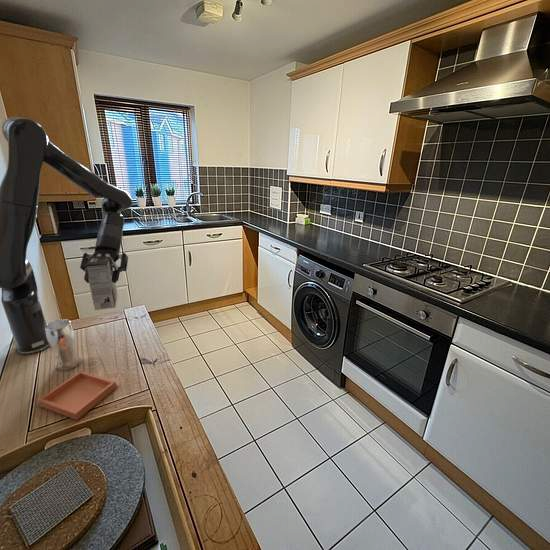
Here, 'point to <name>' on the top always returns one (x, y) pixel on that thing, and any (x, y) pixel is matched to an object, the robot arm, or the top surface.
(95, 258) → the coffee box
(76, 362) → the beer glass
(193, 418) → the top surface
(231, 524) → the top surface
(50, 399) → the tray
